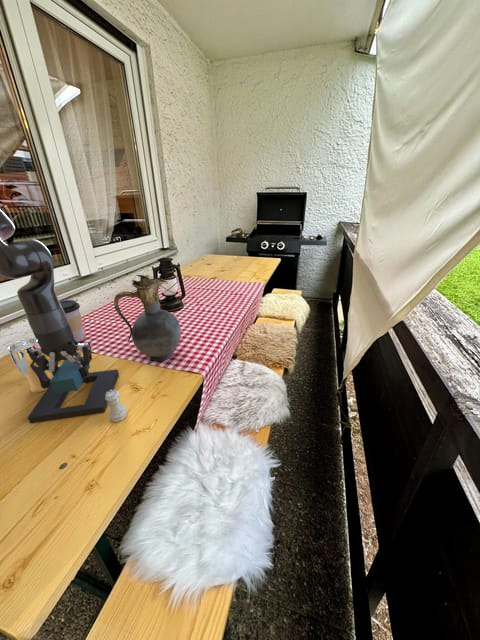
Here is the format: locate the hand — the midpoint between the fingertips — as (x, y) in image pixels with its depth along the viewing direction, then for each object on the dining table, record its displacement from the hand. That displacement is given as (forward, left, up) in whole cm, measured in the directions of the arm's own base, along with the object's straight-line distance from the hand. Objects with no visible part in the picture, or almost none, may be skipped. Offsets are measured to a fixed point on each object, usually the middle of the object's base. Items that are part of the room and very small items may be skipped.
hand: (73, 378), depth 71 cm
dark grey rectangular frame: (0, 0, -6) cm, 6 cm away
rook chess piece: (+13, -10, -7) cm, 18 cm away
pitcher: (+20, +16, -7) cm, 26 cm away
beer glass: (-13, +7, -7) cm, 16 cm away
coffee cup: (-13, +35, -7) cm, 38 cm away
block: (0, 0, 0) cm, 0 cm away
